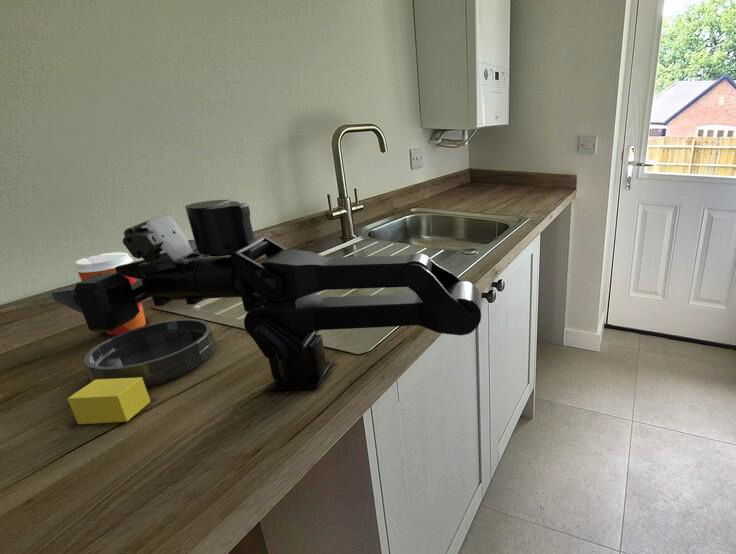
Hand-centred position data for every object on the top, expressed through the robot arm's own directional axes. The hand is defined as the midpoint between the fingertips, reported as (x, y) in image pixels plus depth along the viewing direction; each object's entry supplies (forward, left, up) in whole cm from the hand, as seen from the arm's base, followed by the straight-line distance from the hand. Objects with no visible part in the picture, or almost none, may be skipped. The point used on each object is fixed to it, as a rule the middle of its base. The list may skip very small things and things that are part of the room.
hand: (87, 282), depth 55 cm
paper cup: (+15, -19, -17) cm, 29 cm away
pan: (0, -6, -17) cm, 18 cm away
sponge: (-3, +6, -17) cm, 18 cm away
